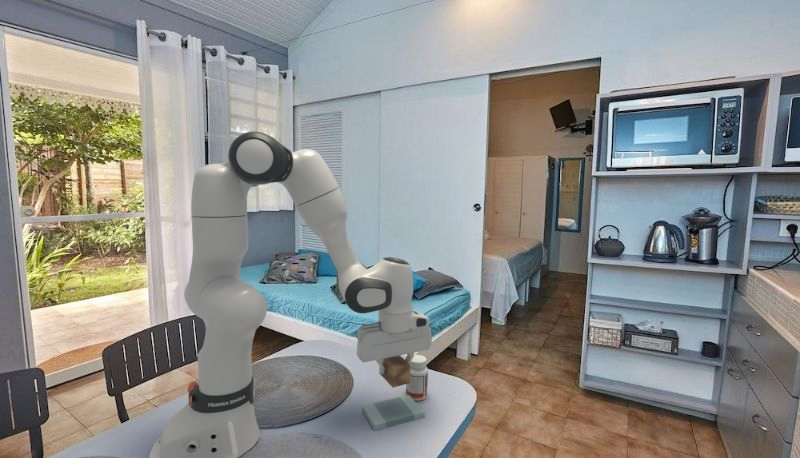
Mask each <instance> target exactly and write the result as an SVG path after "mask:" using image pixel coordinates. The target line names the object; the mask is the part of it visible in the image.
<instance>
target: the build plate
mask: <svg viewBox="0 0 800 458" xmlns="http://www.w3.org/2000/svg"><path fill="white" fill-rule="evenodd" d="M362 412H363V414H364V415H365V417H366V419H367V420H368V422H369V424H370V425H371V427H372V429H373V431H378V430H382V429H386V428H390V427H392V426H396V425H400V424H403V423H408V422H411V421H415V420H419V419H423V418H425V411H424V410H423V409H422V407H420V405H419V404H418V403H417V401H414V400H413V398H412V397H411V396H410V395H406V394H405V395H403V396H399V397H395V398H389V399H386V400H381V401H378V402H377V401H376V402H373V403H369V404H365V405H362Z"/></svg>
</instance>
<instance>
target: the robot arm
mask: <svg viewBox="0 0 800 458" xmlns="http://www.w3.org/2000/svg"><path fill="white" fill-rule="evenodd" d="M227 157H228V158H227V159H228V160H227V161H226V162H223V163H211V164H210V163H209V164H207V165H203V166H202V167H200V168H198V169H197V171H196V172H195V174H194V177H193V183H192V188H191V189H192V190H191V205H190V209H191V232H192V233H191V234H192V235H191V236H192V256H191V266H190V270H189V276H188V281H187V284H186V286H185V288H184V300H185V303H186V306H187V307H188V309H189V310H190V312H191V313H192V314H193V315H195V316H196V317H198V318H199V319H201V320H202V321H203V322H204V323H203V324H204V325H205V334H204V335H205V336H204V340H203V345H202V347H201V348H200V350H199V352H198V353H197V371H198V372H197V375H198V377H197V378H198V382H196V381H191V382H190V383H189V384H188V386H187V392H188V403H187V404H186V405H185V406H183V407H182V408H181V409H179V410H178V411H177V412H176V413H174V414H173V415H172V416H171V417H170V418H169V419H168V420H167V422H166V423H165V426H164V428H163V431H162V434H161V436H160V437H159V438H158V439H157V440H156V441H155V442H154V444H153V445H152V447H151V449H150V452H149V455H148V458H238V457H239V458H240V457H241V456H242V455H244V454H245V453H247V452H248V451H250V449H252V448H253V447H254V446H255V445H256V443H257V442H258V441H259V439H260V437H261V430H260V428H259V425H258V421H257V418H256V413H255V407H254V406H255V405H254V402H255V382H254V381H255V380H254V376H253V375H252V350H253V349H252V348H253V342H254V341H253V340H254V339H255V338H254V337H255V334H256V331H257V329H258V328H259V327H260V326H261V325H262V324H263V323H264V320H265V319H266V316H267V311H268V305H267V300H266V299H265V297H264V296H263V294H262V293H261V292H260V291H259V290H258V289H257V288H256V287H254V285H252V284H250V283H248V282H245V281H243V280H241V278H240V271H241V266H242V262H243V259H244V256H245V255H246V253H248V250H249V227H248V226H249V221H248V194H249V192H250V190H251V189H252V188H254V187H258V186H262V185H268V184H272V183H279V184H280V185H282V186H283V187H284V188H285V189H286V191H287V192H288V194H289V196H290V197H291V201H293V204H294V206H295V208H296V210H297V212H298V214H299V216H300V217H301V219H302V220H303V222H304V223H305V225H306V226H307V227H308V229H309V230H310V231H311V233H314V234H315V235H316V237H318V238H319V240H321V241H322V242H321V243H323V245H324V246H325V248H326V250H327V252H328V254H329V257H330V259H331V261H332V263H333V265H334V267H335V271H336V287H337V290H338V292H339V294H340V296H341V297H342V298H343V300H344V301H345V304H346V305H347V307H348V308H349V309H350V310H351V311H353V312H355V313H357V314H369V313H372V312H373V313H374V312H377V311H378V322H376V321H375V322H371V323H364V324H362V326H360V327H358V329H357V330H356V338H357V346H356V356H357V358H358V359H359V360H360V361H361V362H362V363H368V362H373V361H375V362H376V363H377V365H378V367H379V371H380V373H381V374H386V373H387V367H386V366H385V365H382V363H381V362H383V359H384V358H389V357H394V356H406V357H405V358H404V359H405V360H406V361H407V362H408V363H409V364H410V362H411V360H412V359H413V357H414V355H415V353H420V352H424V351H428V350H430V349H431V347H432V345H433V344H432V343H433V342H432V330H431V327H430V326H429V325H430V323H431V321H430V320H431V319H430V318H429V317H428V316H427V315H426V314H424V313H422V312H421V311H418V310H416V309H415V310H414V309H413V308H414V307H413V303H412V297H413V296H414V276H413V269H412V266H411V264H410V263H409V262H408V261H406V260H404V259H401V258H398V257H393V256H391V257H390V256H388V257H383V258H382V259H381V260H380V261H379V262H377V263H376V264H375V265H372V266H371V267H369V268H368V267H366V266H365V265H364V264H363V263H362V262H361V261H360V260H359V259H358V257H357V255H356V253H355V251H354V249H353V248H354V247H353V246H352V243H351V241H350V239H349V237H348V234H347V229H346V223H347V219H348V214H349V213H348V210H347V206H346V205H347V204H346V202H345V199H344V195H343V193H342V191H341V188H340V185H339V184H338V182H337V180H336V178H335V176H334V174H333V172H332V171H331V169H330V167H329V165H328V164H327V162H326V161H325V159H324V158H323V157H322V156H321V154H320V153H319V152H318V151H316V150H314V149H311V148H307V149H306V148H304V149H299V150H296V151H291V150H290V149H289V148H287V147H286V146H285V145H284V144H282V143H280V142H279V141H278V140H277V139H275V138H273V136H272V135H271V136H270V135H269V134H267V133H265V132H261V131H256V130H255V131H254V130H253V131H246V132H244V133H241V134H240V135H238V136H237V137H236V138H235V139H234V140H233V141H232V142H231V144H230V146H229V149H228V154H227ZM379 371H378V372H379Z"/></svg>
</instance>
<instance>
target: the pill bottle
mask: <svg viewBox="0 0 800 458" xmlns="http://www.w3.org/2000/svg"><path fill="white" fill-rule="evenodd" d="M410 365H411V368H410V383H409V384H405V387H406V388H405V396H406V395H410V396H411V397H412V398H413V400H414V401H415V402H417V401H424V400H425V399H426V398H427V397H428V382H429V381H428V380H429V379H428V378H429V377H428V376H429V369H428V367H427V358H426V357H425V356H424V355H421V354H414V357H413V359H412V360H411V362H410Z"/></svg>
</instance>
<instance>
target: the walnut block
mask: <svg viewBox="0 0 800 458" xmlns="http://www.w3.org/2000/svg"><path fill="white" fill-rule="evenodd" d="M405 359H406V358H404V357H402V355H400V356H394V357H389V358H384V359H383V362H381V363H382V365H385V366H386V367H387V373H386V374H381V373H380V371H378V372H379V375H380V376H381V377H382V378H383V379H384V380H385V381H386V382H387V383H388V385H389V386H391V387H392V389H393V388H397V387H400V386H404V385H405V386H406V384H409V383H410V368H411V365H410V364H409V363H408V362H407V361H406V360H405Z"/></svg>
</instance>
